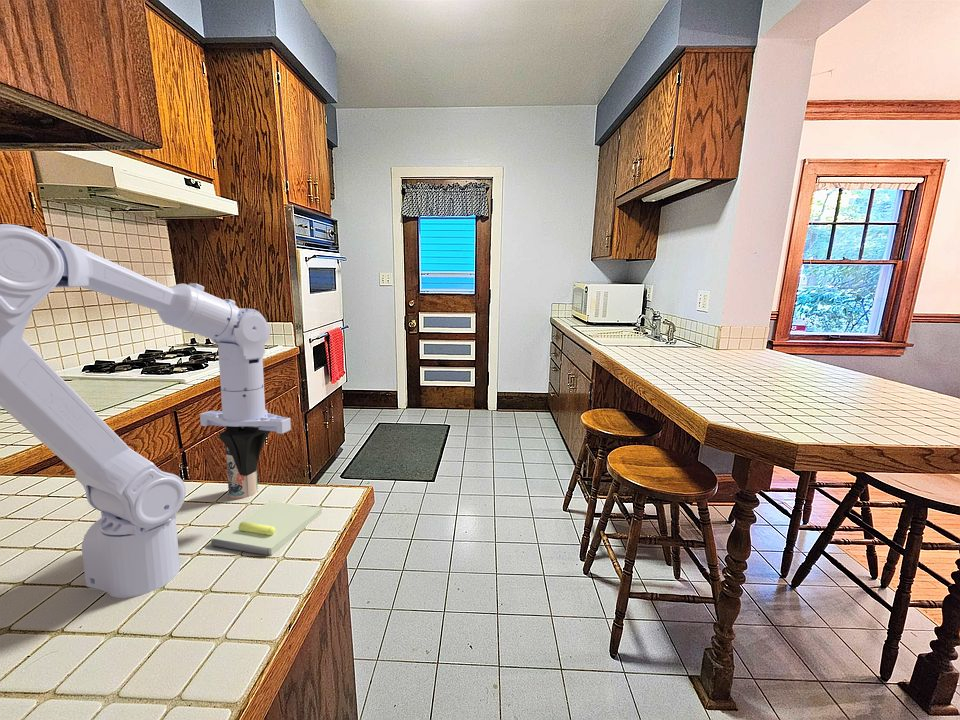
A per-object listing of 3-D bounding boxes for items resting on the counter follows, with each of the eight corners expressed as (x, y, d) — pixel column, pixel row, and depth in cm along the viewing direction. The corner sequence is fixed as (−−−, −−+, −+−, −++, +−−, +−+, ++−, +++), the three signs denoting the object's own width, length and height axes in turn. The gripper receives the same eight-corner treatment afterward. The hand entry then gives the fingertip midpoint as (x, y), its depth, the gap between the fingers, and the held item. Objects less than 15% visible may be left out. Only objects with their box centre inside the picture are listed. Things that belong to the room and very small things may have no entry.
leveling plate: (208, 546, 60) (207, 532, 60) (269, 506, 72) (269, 494, 72) (269, 557, 58) (268, 542, 58) (321, 513, 70) (321, 501, 70)
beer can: (222, 501, 75) (217, 437, 74) (245, 490, 80) (242, 429, 78) (241, 506, 74) (237, 441, 72) (264, 495, 78) (261, 433, 76)
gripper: (301, 385, 66) (305, 468, 68) (223, 379, 69) (229, 459, 71) (270, 395, 59) (274, 486, 61) (185, 388, 62) (192, 475, 64)
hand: (248, 473), depth 65 cm, fingers closed
